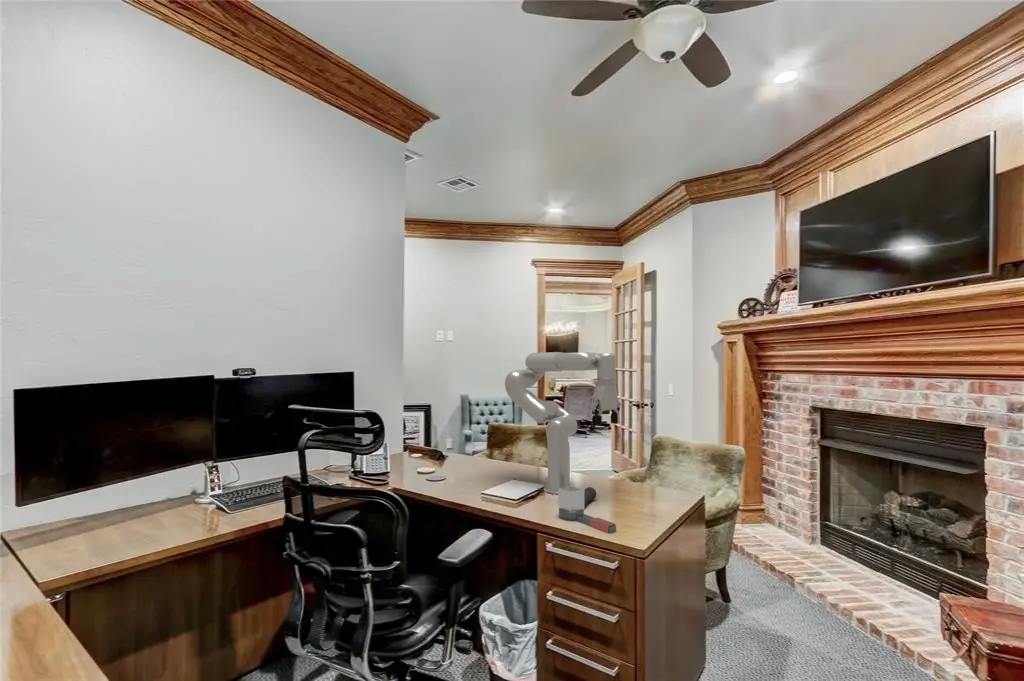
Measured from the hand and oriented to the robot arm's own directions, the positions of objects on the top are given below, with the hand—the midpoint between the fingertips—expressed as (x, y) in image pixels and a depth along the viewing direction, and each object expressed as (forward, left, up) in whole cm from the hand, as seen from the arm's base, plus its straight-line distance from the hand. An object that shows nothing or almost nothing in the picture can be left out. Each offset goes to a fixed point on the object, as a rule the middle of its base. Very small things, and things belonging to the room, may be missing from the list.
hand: (606, 424), depth 200 cm
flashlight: (0, -13, -31) cm, 33 cm away
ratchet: (+16, -28, -30) cm, 44 cm away
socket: (+8, -28, -27) cm, 40 cm away
